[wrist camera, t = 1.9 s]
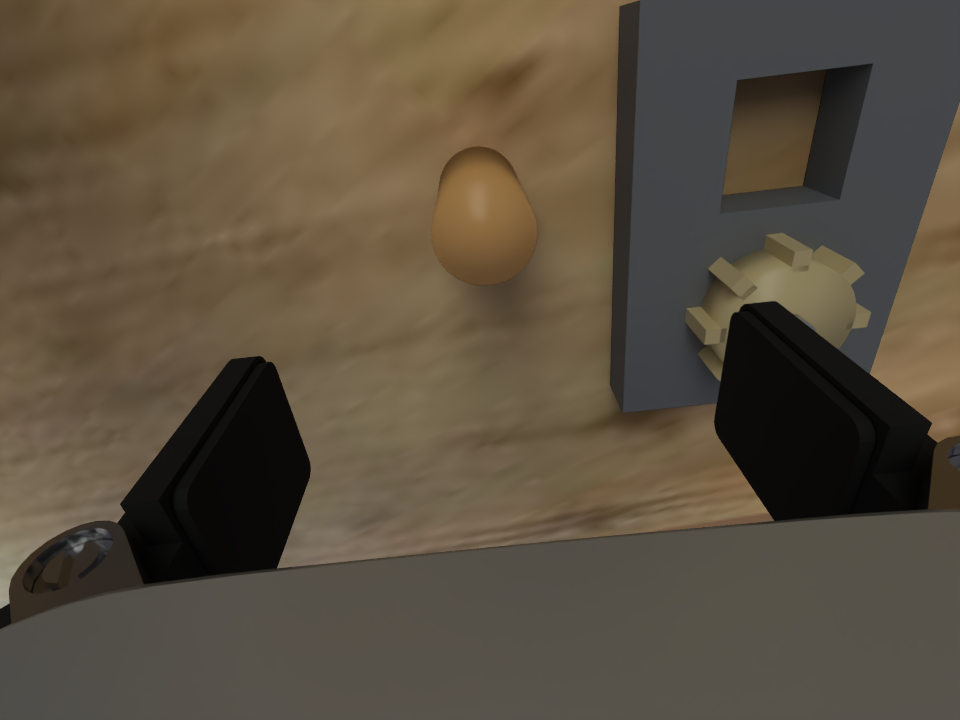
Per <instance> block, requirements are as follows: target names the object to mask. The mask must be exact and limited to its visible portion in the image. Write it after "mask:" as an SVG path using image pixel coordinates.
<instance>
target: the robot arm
mask: <svg viewBox="0 0 960 720" xmlns="http://www.w3.org/2000/svg"><path fill="white" fill-rule="evenodd" d="M714 424H715V430H716V433H717V435H718V437H719V439H720V440H721V442H722V443H723V445H724V446H725V448H726V449H727V451H728V452H729V454H730V455H731V457H732V458H733V460H734V461H735V463H736V464H737V466H738V467H739V469H740V470H741V472H742V473H743V475H744V476H745V478H746V479H747V481H748V482H749V484H750V485H751V487H752V488H753V490H754V491H755V493H756V494H757V496H758V497H759V499H760V500H761V502H762V503H763V505H764V506H765V507H766V509H767V510H768V512H769V513H770V515H771V516H772V518H773V519H774V521H769V522H758V523H747V524H735V525H724V526H713V527H702V528H691V529H680V530H669V531H658V532H646V533H635V534H624V535H614V536H603V537H592V538H582V539H571V540H561V541H550V542H540V543H529V544H519V545H508V546H498V547H488V548H477V549H467V550H457V551H446V552H436V553H426V554H416V555H406V556H396V557H387V558H377V559H367V560H357V561H347V562H337V563H327V564H317V565H308V566H298V567H288V568H278V569H277V567H278V564H279V561H280V558H281V556H282V553H283V550H284V547H285V544H286V542H287V539H288V536H289V533H290V531H291V528H292V525H293V522H294V520H295V517H296V514H297V511H298V509H299V506H300V503H301V500H302V497H303V495H304V492H305V489H306V486H307V484H308V481H309V478H310V472H311V467H310V461H309V458H308V455H307V452H306V450H305V447H304V444H303V441H302V438H301V436H300V433H299V430H298V427H297V425H296V422H295V419H294V416H293V414H292V411H291V408H290V405H289V402H288V400H287V397H286V394H285V391H284V389H283V386H282V383H281V380H280V378H279V375H278V372H277V369H276V367H275V365H274V364H273V363H272V362H266V361H265V359H264V358H263V357H261V356H257V357H247V358H238V359H231V360H230V361H229V362H228V363H227V365H226V366H225V367H224V369H223V370H222V371H221V372H220V374H219V375H218V376H217V378H216V379H215V380H214V382H213V383H212V384H211V386H210V387H209V388H208V390H207V391H206V392H205V393H204V395H203V396H202V397H201V399H200V400H199V401H198V403H197V404H196V405H195V407H194V408H193V409H192V410H191V412H190V413H189V414H188V416H187V417H186V418H185V420H184V421H183V422H182V424H181V425H180V426H179V428H178V429H177V430H176V431H175V433H174V434H173V435H172V437H171V438H170V439H169V441H168V442H167V443H166V445H165V446H164V447H163V449H162V450H161V451H160V452H159V454H158V455H157V456H156V458H155V459H154V460H153V462H152V463H151V464H150V466H149V467H148V468H147V469H146V471H145V472H144V473H143V475H142V476H141V477H140V479H139V480H138V481H137V483H136V484H135V485H134V487H133V488H132V489H131V490H130V492H129V493H128V494H127V496H126V497H125V498H124V500H123V501H122V502H121V504H120V505H121V506H122V508H123V510H124V511H125V514H124V515H123V516H122V518H121V519H120V520H119V522H118V523H115V522H112V521H94V522H90V523H86V524H82V525H79V526H77V527H74V528H72V529H70V530H67V531H65V532H63V533H61V534H59V535H58V536H56V537H54V538H52V539H51V540H49V541H47V542H46V543H45V544H43V545H42V546H41V547H39V548H38V549H37V550H35V551H34V552H33V553H32V554H31V555H30V556H29V557H28V558H27V559H26V560H25V561H24V562H23V563H22V564H21V565H20V566H19V568H18V569H17V571H16V572H15V574H14V576H13V577H12V579H11V583H10V587H9V600H10V604H8V605H6V606H5V607H3V608H1V609H0V720H960V436H954V437H948V438H946V439H944V440H942V441H940V442H938V443H937V442H936V441H935V440H933V439H932V438H931V437H930V436H928V435H927V434H928V431H929V429H930V427H931V424H932V423H931V422H930V421H929V420H928V419H926V418H925V417H924V416H923V415H921V414H920V413H919V412H917V411H916V410H915V409H914V408H912V407H911V406H910V405H908V404H907V403H906V402H905V401H903V400H902V399H901V398H900V397H898V396H897V395H896V394H894V393H893V392H892V391H891V390H889V389H888V388H887V387H885V386H884V385H883V384H882V383H880V382H879V381H878V380H877V379H875V378H874V377H873V376H871V375H870V374H869V373H868V372H866V371H865V370H864V369H862V368H861V367H860V366H859V365H857V364H856V363H855V362H854V361H852V360H851V359H850V358H848V357H847V356H846V355H845V354H843V353H842V352H841V351H839V350H838V349H837V348H836V347H834V346H833V345H832V344H831V343H829V342H828V341H827V340H825V339H824V338H823V337H822V336H820V335H819V334H818V333H817V332H815V331H814V330H813V329H811V328H810V327H809V326H808V325H806V324H805V323H804V322H802V321H801V320H800V319H799V318H797V317H796V316H795V315H794V314H792V313H791V312H790V311H788V310H787V309H786V308H785V307H783V306H782V305H781V304H779V303H778V302H776V301H768V302H759V303H750V304H744V305H742V306H741V308H740V310H739V312H734V313H733V314H732V316H731V319H730V324H729V330H728V337H727V343H726V349H725V356H724V362H723V368H722V375H721V381H720V387H719V394H718V400H717V406H716V413H715V420H714Z"/></svg>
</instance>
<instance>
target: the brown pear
mask: <svg viewBox="0 0 960 720" xmlns="http://www.w3.org/2000/svg"><path fill="white" fill-rule="evenodd" d="M536 242H537V223H536V219H535V216H534V213H533V211H532V209H531V206H530V204H529V202H528V200H527V198H526V195H525V193H524V191H523V189H522V187H521V185H520V182H519V180H518V178H517V176H516V174H515V171H514V169H513V167H512V166H511V164H510V163H509V161H508V160H507V159H506V158H505V157H504V156H503V155H501V154H500V153H499V152H497V151H495V150H493V149H490V148H486V147H471V148H467V149H464V150H462V151H460V152H458V153H457V154H455V155H454V156H453V157H452V158H451V159H450V160H449V161H448V162H447V164H446V165H445V167H444V169H443V171H442V174H441V177H440V182H439V188H438V194H437V201H436V207H435V213H434V219H433V225H432V243H433V248H434V251H435V253H436V256H437V258H438V260H439V261H440V263H441V264H442V266H443V267H444V268H445V269H446V270H447V271H448V272H449V273H450V274H451V275H453V276H454V277H456V278H457V279H459V280H461V281H463V282H466V283H469V284H474V285H482V286H484V285H494V284H498V283H502V282H504V281H506V280H509V279H510V278H512V277H514V276H515V275H516V274H518V273H519V272H520V271H521V270H522V269H523V268H524V267H525V266H526V264H527V263H528V262H529V260H530V258H531V257H532V255H533V252H534V250H535V246H536Z"/></svg>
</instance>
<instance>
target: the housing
mask: <svg viewBox="0 0 960 720" xmlns="http://www.w3.org/2000/svg"><path fill="white" fill-rule="evenodd" d="M823 69H827V74H826V79H825V83H824V88H823V93H822V98H821V103H820V108H819V112H818V117H817V122H816V127H815V132H814V136H813V141H812V146H811V151H810V156H809V161H808V165H807V170H806V175H805V180H804V185H803V186H798V187H790V188H781V189H772V190H764V191H755V192H747V193H738V194H730V195H722V193H723V185H724V178H725V170H726V162H727V155H728V147H729V139H730V131H731V124H732V116H733V108H734V101H735V93H736V85H737V80H742V79H750V78H758V77H766V76H774V75H782V74H790V73H799V72H807V71H815V70H823ZM959 102H960V0H639V1H636V2H633V3H629V4H626V5H623V6H620V16H619V55H618V94H617V134H616V173H615V212H614V252H613V291H612V330H611V370H610V386H611V388H612V390H613V392H614V394H615V397H616V399H617V401H618V403H619V405H620V408H621V410H622V412H623V413H627V412H637V411H646V410H656V409H665V408H674V407H684V406H693V405H703V404H712V403H717V400H718V394H719V387H720V381H721V375H722V368H723V362H724V356H725V349H726V343H727V337H728V330H729V324H730V319H731V316H732V314H733V313H734V312H739V310H740V308H741V306H742V305H744V304H750V303H759V302H768V301H776V302H778V303H779V304H781V305H782V306H783V307H785V308H786V309H787V310H788V311H790V312H791V313H792V314H794V315H795V316H796V317H797V318H799V319H800V320H801V321H802V322H804V323H805V324H806V325H808V326H809V327H810V328H811V329H813V330H814V331H815V332H817V333H818V334H819V335H820V336H822V337H823V338H824V339H825V340H827V341H828V342H829V343H831V344H832V345H833V346H834V347H836V348H837V349H838V350H839V351H841V352H842V353H843V354H845V355H846V356H847V357H848V358H850V359H851V360H852V361H854V362H855V363H856V364H857V365H859V366H860V367H861V368H862V369H864V370H865V371H866V372H868V373H869V374H870V371H871V368H872V365H873V362H874V359H875V356H876V353H877V350H878V347H879V344H880V341H881V338H882V335H883V332H884V329H885V326H886V323H887V320H888V317H889V314H890V311H891V308H892V305H893V302H894V299H895V296H896V293H897V290H898V287H899V284H900V281H901V277H902V274H903V271H904V268H905V265H906V262H907V259H908V256H909V253H910V250H911V247H912V244H913V241H914V238H915V235H916V232H917V229H918V226H919V223H920V220H921V217H922V214H923V211H924V208H925V205H926V202H927V199H928V196H929V193H930V190H931V187H932V184H933V181H934V178H935V175H936V172H937V169H938V166H939V163H940V160H941V157H942V154H943V151H944V148H945V145H946V142H947V139H948V136H949V133H950V130H951V127H952V123H953V120H954V117H955V114H956V111H957V108H958V105H959Z"/></svg>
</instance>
